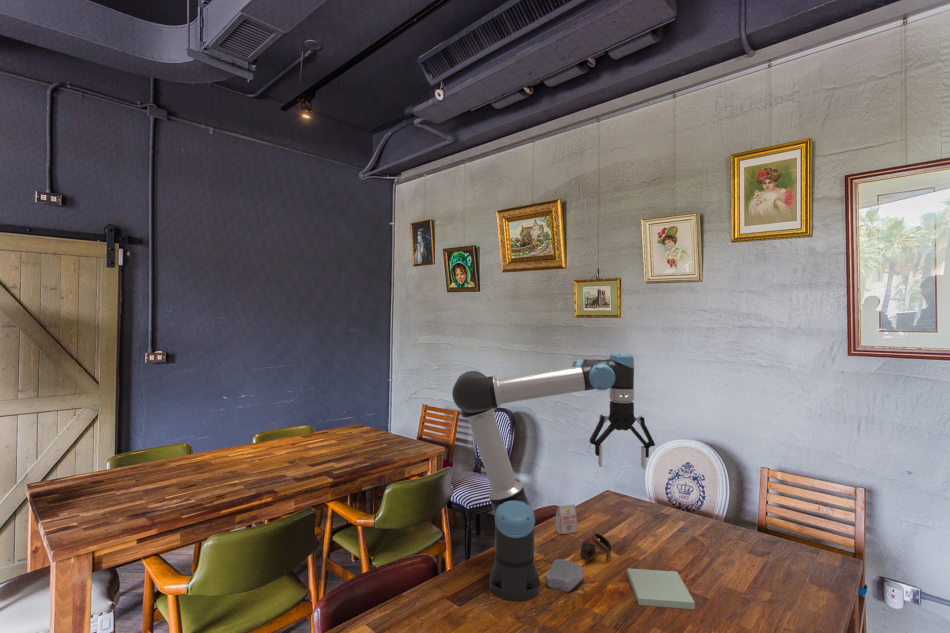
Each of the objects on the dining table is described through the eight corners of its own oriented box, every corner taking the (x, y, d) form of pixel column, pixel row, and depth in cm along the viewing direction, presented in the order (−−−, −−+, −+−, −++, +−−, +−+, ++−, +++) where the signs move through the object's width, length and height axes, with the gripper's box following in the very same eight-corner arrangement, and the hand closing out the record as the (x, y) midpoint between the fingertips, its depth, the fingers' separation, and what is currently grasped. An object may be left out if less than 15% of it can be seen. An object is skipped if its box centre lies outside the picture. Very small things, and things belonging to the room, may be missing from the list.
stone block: (584, 580, 146) (553, 567, 150) (587, 566, 145) (556, 553, 150) (575, 602, 135) (542, 587, 139) (578, 587, 135) (545, 572, 139)
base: (638, 605, 131) (638, 598, 131) (627, 574, 147) (627, 568, 147) (694, 609, 129) (694, 602, 129) (677, 578, 145) (677, 571, 145)
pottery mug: (584, 547, 164) (596, 528, 164) (606, 568, 159) (618, 548, 158) (570, 553, 155) (582, 533, 154) (592, 575, 149) (606, 554, 148)
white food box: (555, 530, 177) (555, 504, 177) (571, 528, 179) (571, 502, 179) (560, 535, 174) (560, 508, 174) (576, 532, 176) (576, 506, 176)
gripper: (583, 402, 149) (583, 468, 149) (665, 404, 146) (665, 471, 146) (581, 398, 156) (581, 461, 156) (658, 400, 153) (658, 464, 153)
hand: (621, 466), depth 151 cm, fingers open, 13 cm apart
